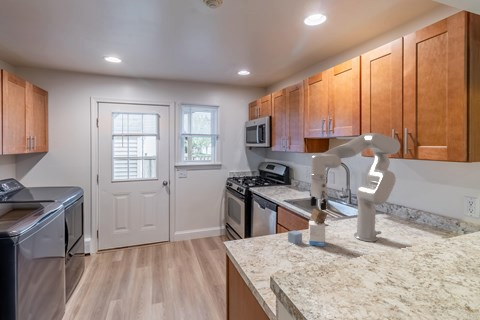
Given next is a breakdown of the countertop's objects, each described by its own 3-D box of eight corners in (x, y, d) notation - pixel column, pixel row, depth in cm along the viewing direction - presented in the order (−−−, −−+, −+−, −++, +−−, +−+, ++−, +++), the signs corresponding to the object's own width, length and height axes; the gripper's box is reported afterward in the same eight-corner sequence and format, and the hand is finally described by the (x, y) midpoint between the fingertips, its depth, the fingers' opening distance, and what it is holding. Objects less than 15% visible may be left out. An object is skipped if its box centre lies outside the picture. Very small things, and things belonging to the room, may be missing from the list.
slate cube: (295, 239, 146) (295, 230, 145) (301, 242, 141) (302, 233, 141) (287, 241, 143) (288, 231, 143) (294, 244, 138) (294, 234, 138)
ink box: (325, 246, 135) (326, 222, 134) (309, 245, 137) (309, 221, 136) (323, 240, 144) (324, 218, 143) (308, 239, 145) (308, 217, 145)
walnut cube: (318, 219, 143) (321, 210, 142) (323, 223, 138) (327, 214, 137) (310, 217, 142) (313, 208, 141) (315, 221, 136) (318, 212, 136)
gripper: (333, 179, 131) (333, 211, 132) (315, 175, 147) (315, 203, 149) (321, 179, 129) (321, 212, 130) (304, 175, 145) (304, 204, 147)
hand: (318, 207), depth 139 cm, fingers open, 9 cm apart
